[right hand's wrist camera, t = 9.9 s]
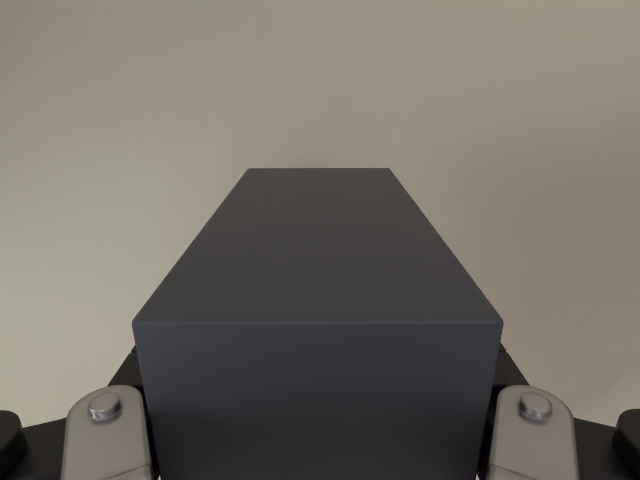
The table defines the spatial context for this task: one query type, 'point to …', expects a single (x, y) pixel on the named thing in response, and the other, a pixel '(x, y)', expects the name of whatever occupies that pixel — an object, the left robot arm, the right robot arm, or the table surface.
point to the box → (318, 338)
